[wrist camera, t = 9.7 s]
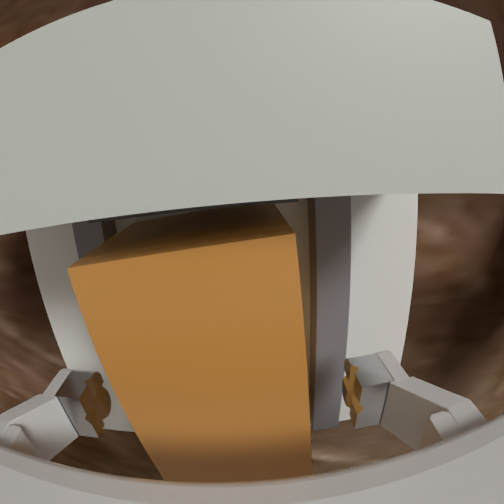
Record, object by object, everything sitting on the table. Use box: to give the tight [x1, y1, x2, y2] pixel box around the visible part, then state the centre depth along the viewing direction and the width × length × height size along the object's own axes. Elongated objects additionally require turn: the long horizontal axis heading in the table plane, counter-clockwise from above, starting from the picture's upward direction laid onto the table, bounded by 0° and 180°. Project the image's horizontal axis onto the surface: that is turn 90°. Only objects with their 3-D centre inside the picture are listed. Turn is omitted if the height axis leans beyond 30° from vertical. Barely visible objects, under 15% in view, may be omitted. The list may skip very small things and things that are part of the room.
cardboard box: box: [67, 204, 312, 482], centre depth 10 cm, size 10×5×5 cm, turn 8°
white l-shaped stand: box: [0, 0, 504, 432], centre depth 10 cm, size 16×16×8 cm
